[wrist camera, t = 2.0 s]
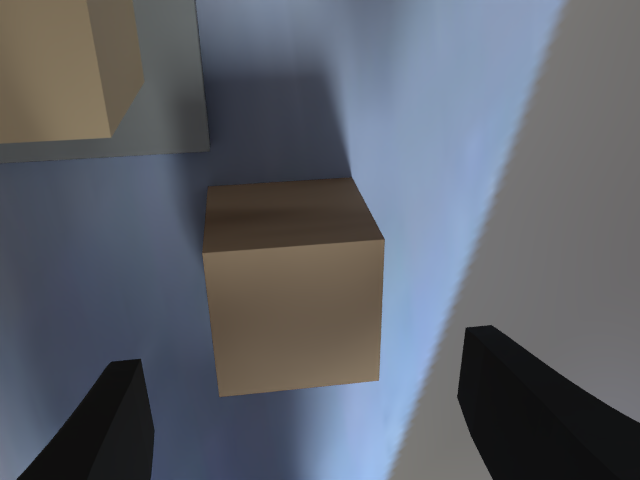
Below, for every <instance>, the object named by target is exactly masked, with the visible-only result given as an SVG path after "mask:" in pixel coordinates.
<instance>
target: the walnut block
mask: <svg viewBox="0 0 640 480" xmlns="http://www.w3.org/2000/svg"><path fill="white" fill-rule="evenodd" d="M384 244H385V239H384V237H383V235H382V233H381V232H380V230H379V228H378V226H377V224H376V222H375V220H374V218H373V216H372V214H371V213H370V211H369V209H368V207H367V205H366V203H365V201H364V199H363V197H362V195H361V194H360V192H359V190H358V188H357V186H356V184H355V182H354V180H353V178H352V177H349V178H333V179H317V180H302V181H286V182H270V183H254V184H239V185H223V186H208V192H207V204H206V215H205V227H204V239H203V251H202V255H203V264H204V272H205V281H206V289H207V297H208V306H209V314H210V323H211V331H212V340H213V348H214V357H215V365H216V374H217V382H218V390H219V397H226V396H235V395H245V394H255V393H264V392H274V391H283V390H293V389H302V388H312V387H322V386H331V385H341V384H350V383H360V382H369V381H379V368H380V344H381V319H382V294H383V269H384Z"/></svg>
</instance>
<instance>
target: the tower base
mask: <svg viewBox="0 0 640 480" xmlns="http://www.w3.org/2000/svg"><path fill="white" fill-rule="evenodd" d="M209 151H210V137H209V127H208V117H207V107H206V98H205V88H204V78H203V68H202V59H201V49H200V39H199V29H198V20H197V10H196V0H0V163H16V162H33V161H51V160H68V159H86V158H103V157H121V156H138V155H156V154H173V153H191V152H209Z"/></svg>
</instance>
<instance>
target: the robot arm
mask: <svg viewBox="0 0 640 480" xmlns="http://www.w3.org/2000/svg"><path fill="white" fill-rule="evenodd" d="M457 398H458V401H459V404H460V406H461V409H462V412H463V415H464V418H465V421H466V423H467V426H468V429H469V432H470V434H471V437H472V439H473V441H474V443H475V445H476V447H477V449H478V451H479V453H480V455H481V457H482V459H483V461H484V463H485V465H486V467H487V469H488V471H489V473H490V475H491V477H492V479H493V480H640V423H639V422H637V421H635V420H633V419H631V418H629V417H628V416H626V415H624V414H622V413H620V412H619V411H617V410H615V409H614V408H612V407H610V406H609V405H607V404H605V403H604V402H602V401H601V400H599V399H597V398H596V397H594V396H593V395H591V394H589V393H588V392H586V391H585V390H583V389H581V388H580V387H579V386H577V385H575V384H574V383H572V382H571V381H569V380H568V379H567V378H565V377H564V376H562V375H561V374H559V373H558V372H556V371H555V370H554V369H552V368H550V367H549V366H548V365H546V364H545V363H544V362H542V361H541V360H539V359H538V358H537V357H535V356H534V355H533V354H531V353H530V352H528V351H527V350H526V349H524V348H523V347H522V346H520V345H519V344H517V343H516V342H514V341H513V340H512V339H511V338H509V337H508V336H506V335H505V334H503V333H502V332H501V331H499V330H498V329H496V328H495V327H493V326H492V325H488V326H478V327H467V328H466V330H465V339H464V346H463V354H462V363H461V370H460V379H459V388H458V395H457ZM153 445H154V425H153V420H152V415H151V410H150V404H149V399H148V394H147V389H146V384H145V378H144V373H143V368H142V363H141V359H135V360H124V361H114V362H111V363H110V364H109V365H108V366H107V367H106V368H105V370H104V371H103V373H102V374H101V375H100V377H99V378H98V380H97V381H96V382H95V384H94V385H93V387H92V388H91V389H90V391H89V392H88V394H87V395H86V396H85V398H84V399H83V400H82V402H81V403H80V404H79V406H78V407H77V408H76V410H75V411H74V412H73V413H72V415H71V416H70V417H69V419H68V420H67V421H66V422H65V424H64V425H63V426H62V427H61V429H60V430H59V431H58V433H57V434H56V435H55V436H54V437H53V439H52V440H51V441H50V442H49V443H48V445H47V446H46V447H45V448H44V449H43V450H42V451H41V453H40V454H39V455H38V456H37V457H36V458H35V460H34V461H33V462H32V463H31V464H30V465H29V466H28V468H27V469H26V470H25V471H24V472H23V473H22V474H21V475H20V476H19V477H18V478H17V479H16V480H150V478H151V470H152V459H153Z"/></svg>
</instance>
